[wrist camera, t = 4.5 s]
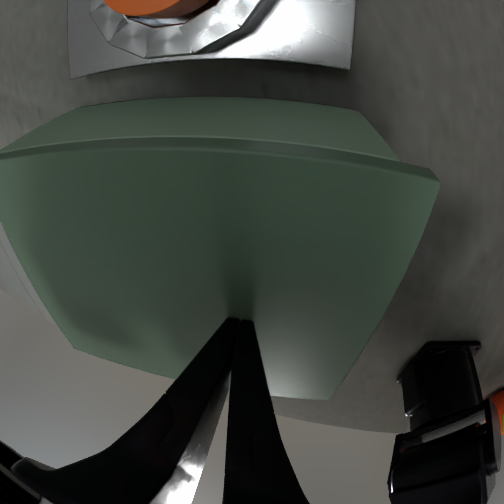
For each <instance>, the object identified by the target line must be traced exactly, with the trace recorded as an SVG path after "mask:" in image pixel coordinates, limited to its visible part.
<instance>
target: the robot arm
mask: <svg viewBox="0 0 504 504" xmlns="http://www.w3.org/2000/svg"><path fill="white" fill-rule="evenodd" d="M481 348H482V346H481V343H480V342H431V343H428V344H426V345H425V346H424V347H423V348H422V350H421V351H420V352H419V353H418V354H417V356H416V357H415V358H414V359H413V360H412V362H411V363H410V364H409V365H408V366H407V367H406V368H405V370H404V371H403V372H402V373H401V374H400V375H399V376H398V377H397V383H402V390H403V399H404V410H405V414H406V416H409V417H410V430H411V432H408V433H405V434H403V433H402V434H398V435H396V439H395V444H394V450H393V456H392V462H391V466H390V472H389V476H388V481H387V484H388V489H389V498H390V501H391V504H487V502H488V500H489V498H490V495H491V493H492V491H493V488H494V486H495V473H497V472H499V471H500V467H501V424H500V419H499V414H498V410H497V406H496V405H495V404H494V403H493V401H492V400H491V399H490V398H487V399H485V400H483V397H482V392H481V388H480V383H479V379H478V375H477V371H476V367H475V363H474V360H473V356H474V355H475V354H476V353H477V352H478V351H479V350H480V349H481ZM229 387H230V395H229V412H228V427H227V443H226V460H225V478H224V492H223V501H222V504H310V503H309V502H308V500H307V498H306V497H305V495H304V493H303V491H302V489H301V487H300V485H299V482H298V480H297V478H296V475H295V473H294V470H293V468H292V466H291V463H290V461H289V458H288V456H287V454H286V451H285V448H284V446H283V443H282V440H281V437H280V433H279V429H278V426H277V422H276V417H275V414H274V409H273V405H272V401H271V396H270V392H269V387H268V383H267V379H266V374H265V370H264V365H263V361H262V357H261V352H260V348H259V343H258V339H257V334H256V330H255V325H254V322H253V321H252V320H246V319H242V320H241V321H240V320H239V319H238V318H232V317H227V318H226V319H225V320H224V322H223V323H222V324H221V325H220V326H219V328H218V329H217V330H216V331H215V333H214V334H213V335H212V336H211V338H210V339H209V340H208V341H207V342H206V344H205V345H204V346H203V347H202V349H201V350H200V351H199V352H198V353H197V355H196V356H195V357H194V358H193V360H192V361H191V362H190V363H189V364H188V366H187V367H186V368H185V369H184V370H183V372H182V373H181V374H180V375H179V376H178V378H177V379H176V380H175V381H174V382H173V384H172V385H171V386H170V388H168V390H167V391H166V394H163V395H162V397H161V398H160V399H159V400H158V402H157V403H156V404H155V405H154V406H153V407H152V408H151V409H150V410H149V411H148V412H147V413H146V414H145V415H144V416H143V417H142V418H141V419H140V420H139V421H138V422H137V423H136V424H135V425H134V426H132V427H131V428H130V429H129V430H128V431H127V432H126V433H125V434H123V435H122V436H121V437H120V438H119V439H118V440H117V441H115V442H114V443H113V444H112V445H111V446H110V447H108V448H106V449H105V450H103V451H102V452H100V453H98V454H96V455H93V456H90V457H88V458H85V459H83V460H80V461H78V462H75V463H72V464H70V465H67V466H65V467H62V468H59V469H55V468H52V467H50V466H47V465H45V464H42V463H40V462H38V461H35V460H33V459H31V458H27V457H23V456H21V455H20V454H19V453H17V452H16V451H15V450H13V449H12V448H11V447H9V446H8V445H6V444H5V443H3V442H2V441H0V504H191V502H192V499H193V496H194V493H195V490H196V487H197V484H198V481H199V478H200V475H201V472H202V469H203V466H204V463H205V460H206V457H207V454H208V451H209V448H210V445H211V442H212V439H213V436H214V433H215V430H216V426H217V424H218V421H219V417H220V415H221V411H222V409H223V406H224V402H225V399H226V396H227V393H228V390H229ZM483 420H485V421H486V423H485V424H482V425H481V424H480V423H479V422H481V421H483Z"/></svg>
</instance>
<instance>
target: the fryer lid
mask: <svg viewBox="0 0 504 504" xmlns="http://www.w3.org/2000/svg"><path fill="white" fill-rule="evenodd" d="M440 187H441V181H440V180H439V179H438V178H437V177H436V175H435V174H434V173H433V172H432V171H431V170H430V169H427V168H424V167H420V166H415V165H411V164H407V163H403V162H398V161H394V160H389V159H384V158H379V157H374V156H369V155H364V154H358V153H353V152H347V151H341V150H334V149H328V148H321V147H313V146H306V145H298V144H289V143H279V142H269V141H257V140H244V139H227V138H201V137H147V138H122V139H105V140H92V141H81V142H72V143H63V144H55V145H47V146H40V147H34V148H28V149H22V150H16V151H11V152H6V153H1V154H0V221H1V223H2V225H3V228H4V230H5V232H6V235H7V237H8V239H9V241H10V243H11V245H12V247H13V250H14V252H15V254H16V256H17V258H18V260H19V262H20V263H21V265H22V267H23V269H24V271H25V273H26V275H27V277H28V278H29V280H30V282H31V284H32V285H33V287H34V289H35V291H36V292H37V294H38V296H39V297H40V299H41V301H42V302H43V304H44V305H45V307H46V309H47V310H48V312H49V313H50V315H51V316H52V318H53V319H54V321H55V322H56V324H57V325H58V327H59V328H60V330H61V331H62V332H63V334H64V335H65V337H66V338H67V339H68V341H69V342H70V343H71V345H72V346H73V348H75V349H77V350H80V351H83V352H85V353H88V354H91V355H94V356H97V357H100V358H103V359H106V360H109V361H112V362H115V363H118V364H122V365H125V366H128V367H132V368H135V369H139V370H142V371H146V372H150V373H154V374H157V375H161V376H165V377H170V378H174V379H177V378H178V376H179V375H180V374H181V373H182V372H183V370H184V369H185V368H186V367H187V366H188V364H189V363H190V362H191V361H192V360H193V358H194V357H195V356H196V355H197V353H198V352H199V351H200V350H201V349H202V347H203V346H204V345H205V344H206V342H207V341H208V340H209V339H210V338H211V336H212V335H213V334H214V333H215V331H216V330H217V329H218V328H219V326H220V325H221V324H222V323H223V322H224V320H225V319H226V318H227V317H232V318H238V319H239V320H240V321H241V320H242V319H246V320H252V321H253V322H254V325H255V330H256V334H257V339H258V343H259V348H260V352H261V357H262V361H263V365H264V370H265V374H266V379H267V383H268V387H269V392H270V395H271V396H281V397H291V398H303V399H317V400H330V399H331V397H332V396H333V394H334V393H335V392H336V390H337V389H338V387H339V386H340V385H341V383H342V382H343V380H344V379H345V377H346V376H347V374H348V373H349V371H350V370H351V368H352V367H353V365H354V364H355V362H356V360H357V359H358V357H359V356H360V354H361V353H362V351H363V349H364V348H365V346H366V344H367V343H368V341H369V339H370V338H371V336H372V334H373V333H374V331H375V329H376V327H377V326H378V324H379V322H380V320H381V319H382V317H383V315H384V313H385V311H386V310H387V308H388V306H389V304H390V302H391V300H392V298H393V296H394V295H395V293H396V291H397V289H398V287H399V285H400V283H401V281H402V279H403V277H404V275H405V272H406V270H407V268H408V266H409V264H410V262H411V260H412V257H413V255H414V253H415V251H416V249H417V246H418V244H419V242H420V239H421V237H422V235H423V232H424V230H425V227H426V225H427V222H428V220H429V217H430V215H431V212H432V209H433V207H434V204H435V201H436V199H437V196H438V193H439V190H440ZM229 390H230V387H229Z"/></svg>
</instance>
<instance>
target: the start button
mask: <svg viewBox="0 0 504 504" xmlns="http://www.w3.org/2000/svg"><path fill="white" fill-rule="evenodd" d="M103 1H104V2H105V3H106V4H107V5H108V6H109V7H110V8H111V9H112V10H114V11H116V12H118V13H120V14H124V15H129V16H139V17H150V18H159V19H167V18H175V17H179V16H183V15H186V14H188V13H191V12H193V11H195V10H197V9H198V8H200V7H201V6H203V5H204V4H206V3H207V2H208V1H209V0H103Z"/></svg>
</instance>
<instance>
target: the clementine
mask: <svg viewBox="0 0 504 504" xmlns="http://www.w3.org/2000/svg"><path fill="white" fill-rule="evenodd" d="M491 400H492V401H493V403H494V404H495V405H496V406H497V410H498V414H499V419H500V424H501V435H503V434H504V390H502V391H500V392H498V393H497V394H496V395H495V396H493V397H492V399H491ZM484 421H485V420H484ZM485 423H486V421H485Z"/></svg>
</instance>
